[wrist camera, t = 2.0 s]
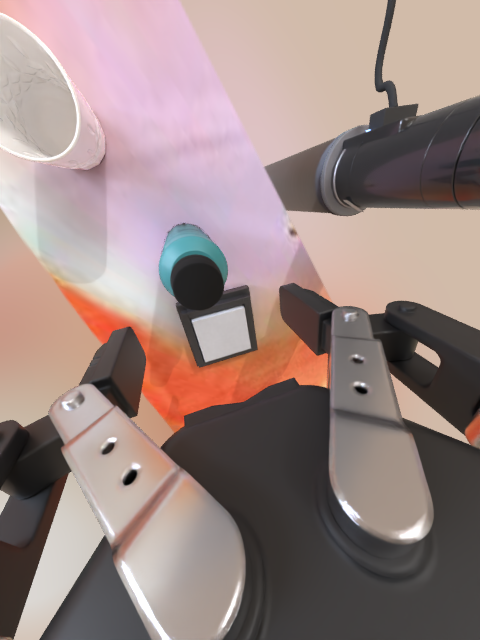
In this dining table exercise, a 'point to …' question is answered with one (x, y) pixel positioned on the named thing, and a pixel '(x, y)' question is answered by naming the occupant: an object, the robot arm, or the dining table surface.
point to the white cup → (43, 105)
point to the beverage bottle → (192, 267)
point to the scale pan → (222, 332)
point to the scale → (226, 301)
